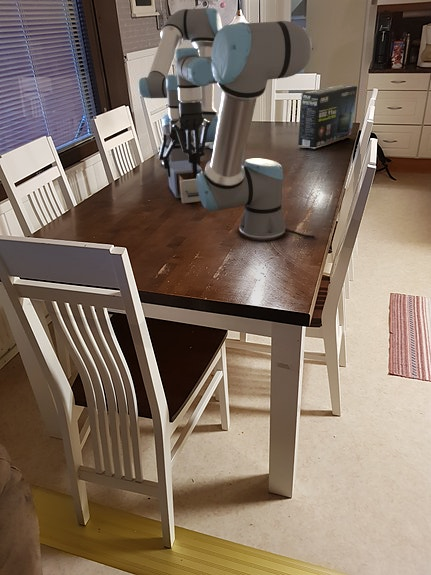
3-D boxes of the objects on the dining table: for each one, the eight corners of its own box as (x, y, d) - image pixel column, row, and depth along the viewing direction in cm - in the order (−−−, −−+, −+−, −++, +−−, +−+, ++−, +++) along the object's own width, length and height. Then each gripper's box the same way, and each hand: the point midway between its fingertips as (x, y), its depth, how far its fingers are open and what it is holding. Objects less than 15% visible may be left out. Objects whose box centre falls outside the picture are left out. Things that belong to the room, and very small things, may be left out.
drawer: (212, 205, 166) (211, 182, 162) (185, 208, 164) (183, 185, 160) (199, 188, 184) (197, 168, 180) (175, 191, 182) (173, 171, 179)
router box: (314, 151, 231) (318, 94, 217) (296, 148, 237) (299, 92, 224) (352, 138, 251) (358, 85, 238) (335, 135, 258) (340, 83, 245)
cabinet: (203, 194, 181) (202, 169, 176) (176, 198, 178) (173, 172, 173) (194, 183, 195) (193, 159, 190) (169, 186, 193) (166, 162, 188)
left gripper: (206, 114, 182) (208, 169, 193) (147, 119, 177) (153, 175, 188) (210, 117, 175) (213, 174, 186) (149, 123, 171) (155, 180, 182)
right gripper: (206, 97, 155) (209, 166, 167) (168, 100, 152) (174, 170, 165) (212, 100, 149) (214, 172, 161) (172, 104, 146) (178, 176, 158)
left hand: (183, 174), depth 187 cm, fingers closed on cabinet, 11 cm apart
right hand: (194, 171), depth 163 cm, fingers closed
